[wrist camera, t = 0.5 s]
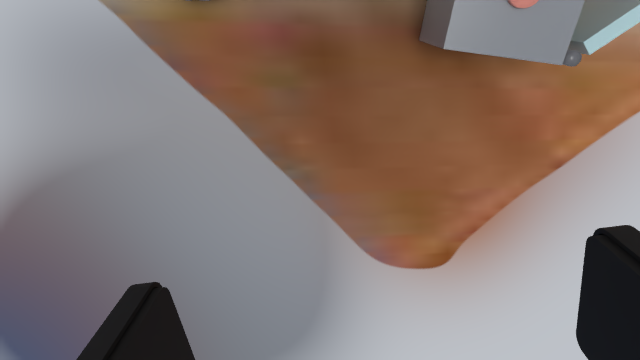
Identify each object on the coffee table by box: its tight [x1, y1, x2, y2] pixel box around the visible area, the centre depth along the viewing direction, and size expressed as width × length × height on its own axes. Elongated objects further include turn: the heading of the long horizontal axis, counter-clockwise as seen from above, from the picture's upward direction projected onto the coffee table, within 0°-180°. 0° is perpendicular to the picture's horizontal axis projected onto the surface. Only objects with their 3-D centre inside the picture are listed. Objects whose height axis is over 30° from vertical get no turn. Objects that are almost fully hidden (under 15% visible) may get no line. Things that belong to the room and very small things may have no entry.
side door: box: [568, 0, 640, 55], centre depth 29 cm, size 8×2×7 cm, turn 128°
